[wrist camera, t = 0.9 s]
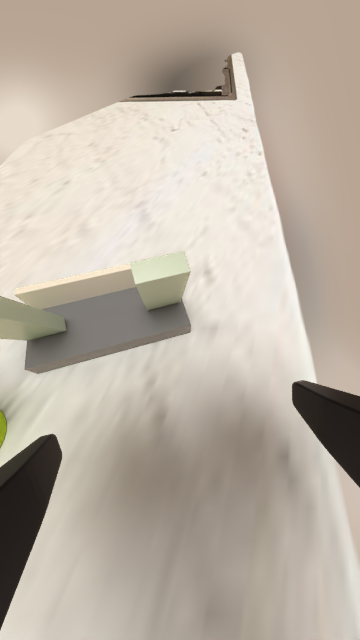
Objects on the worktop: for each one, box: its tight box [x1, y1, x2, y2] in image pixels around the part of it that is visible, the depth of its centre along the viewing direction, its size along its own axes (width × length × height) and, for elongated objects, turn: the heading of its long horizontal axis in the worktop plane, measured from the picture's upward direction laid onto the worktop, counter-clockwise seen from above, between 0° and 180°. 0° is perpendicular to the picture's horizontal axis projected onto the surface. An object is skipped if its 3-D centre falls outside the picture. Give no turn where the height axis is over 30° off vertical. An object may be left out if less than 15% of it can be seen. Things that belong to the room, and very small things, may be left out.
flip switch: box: [130, 251, 190, 310], centre depth 18 cm, size 2×4×9 cm, turn 106°
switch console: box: [14, 264, 191, 374], centre depth 22 cm, size 8×18×5 cm, turn 106°
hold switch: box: [0, 296, 66, 340], centre depth 17 cm, size 2×4×9 cm, turn 106°
